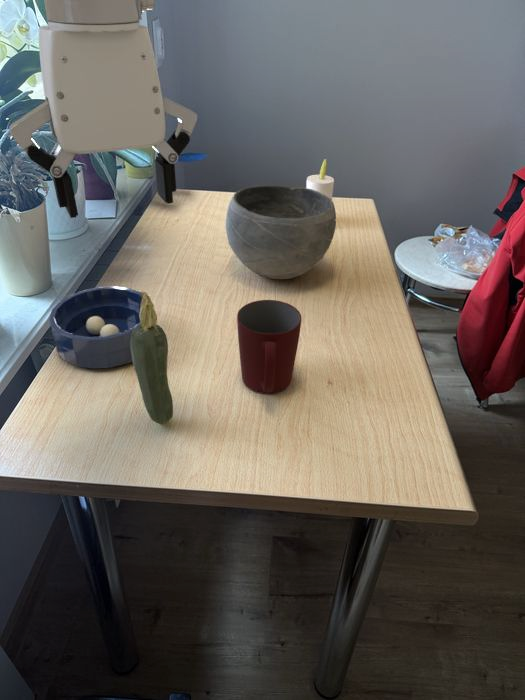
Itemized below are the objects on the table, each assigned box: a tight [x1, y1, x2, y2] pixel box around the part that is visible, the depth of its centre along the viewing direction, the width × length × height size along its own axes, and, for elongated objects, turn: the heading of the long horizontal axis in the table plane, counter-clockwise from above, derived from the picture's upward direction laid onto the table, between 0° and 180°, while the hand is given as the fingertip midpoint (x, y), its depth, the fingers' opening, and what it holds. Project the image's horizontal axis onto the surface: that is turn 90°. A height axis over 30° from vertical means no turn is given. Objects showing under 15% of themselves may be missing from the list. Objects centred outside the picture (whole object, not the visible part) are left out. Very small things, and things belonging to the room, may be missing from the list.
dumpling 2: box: [100, 324, 120, 336], centre depth 84 cm, size 3×3×3 cm
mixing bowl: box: [48, 286, 155, 369], centre depth 84 cm, size 16×16×6 cm
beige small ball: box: [86, 316, 105, 335], centre depth 86 cm, size 3×3×3 cm
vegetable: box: [130, 290, 174, 426], centre depth 65 cm, size 4×4×20 cm
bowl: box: [225, 184, 337, 280], centre depth 104 cm, size 21×21×15 cm
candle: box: [305, 158, 335, 201], centre depth 125 cm, size 6×6×15 cm
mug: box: [236, 299, 302, 395], centre depth 75 cm, size 12×9×11 cm
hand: (120, 205), depth 54 cm, fingers open, 9 cm apart
